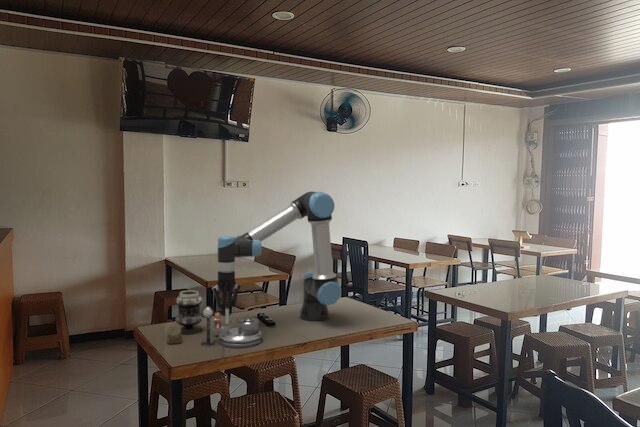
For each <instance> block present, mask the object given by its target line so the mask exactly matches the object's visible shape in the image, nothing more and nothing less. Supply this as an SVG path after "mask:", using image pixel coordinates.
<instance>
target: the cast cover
mask: <svg viewBox="0 0 640 427" xmlns="http://www.w3.org/2000/svg"><path fill="white" fill-rule="evenodd" d="M237 322H238V324H237V325H238V326H237V328H238V333H239V334H241V335H255V334H258V333H259V331H260V320H259V319H258V318H254V317H245V318H241V319H238V321H237Z"/></svg>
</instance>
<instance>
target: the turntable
mask: <svg viewBox="0 0 640 427" xmlns="http://www.w3.org/2000/svg"><path fill="white" fill-rule="evenodd" d="M213 316H214V317H213V319H221V320H213V322H214V324H213V325H214V326H213V327H212V331H217V332H220V333H219V334H218V337H219V338H220V340H222V341H224V342H228V343H248V342H253V341H256V340H258V339H260V338H261V335H262V332H261V331H260V330H259V333H258V334H255V335H241V334H239V333H238V327H231V328H230V327H229V326H225V325H224V326H223V325H222V312H214V315H213Z"/></svg>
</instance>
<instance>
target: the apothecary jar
mask: <svg viewBox="0 0 640 427" xmlns="http://www.w3.org/2000/svg"><path fill="white" fill-rule="evenodd" d="M202 302H203V298H202V297H201V296H200V294H199V291H197V290H190V289H189V290H188V289H187V290H182V291H180V292H179V295H178V297H177V298H176V299H175V304H176V305H177V306H178V307H177V308H178V311H177V315H176V316H175V319H174V320H175V322H176V323H177V325H179V326H182V327H181V335H182V334H183V335H191V334H195V333H199V332H200V330H201V329H200V327H197V325H199V324H200V323H201V322H202V320H203V316H202V313H200V311H201V310H200V309H201V308H200V305H201V304H202Z"/></svg>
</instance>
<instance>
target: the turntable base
mask: <svg viewBox="0 0 640 427" xmlns="http://www.w3.org/2000/svg"><path fill="white" fill-rule="evenodd" d="M217 342H218V344H219V345H220V346H222V347H225V348H230V349H246V348H251V347H256V346H259V345H260V344H261V343H263V334H261V338H260V339H258V340H256V341H253V342H248V343H228V342H224V341H222V340H220V338H219V336H218V337H217Z"/></svg>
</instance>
